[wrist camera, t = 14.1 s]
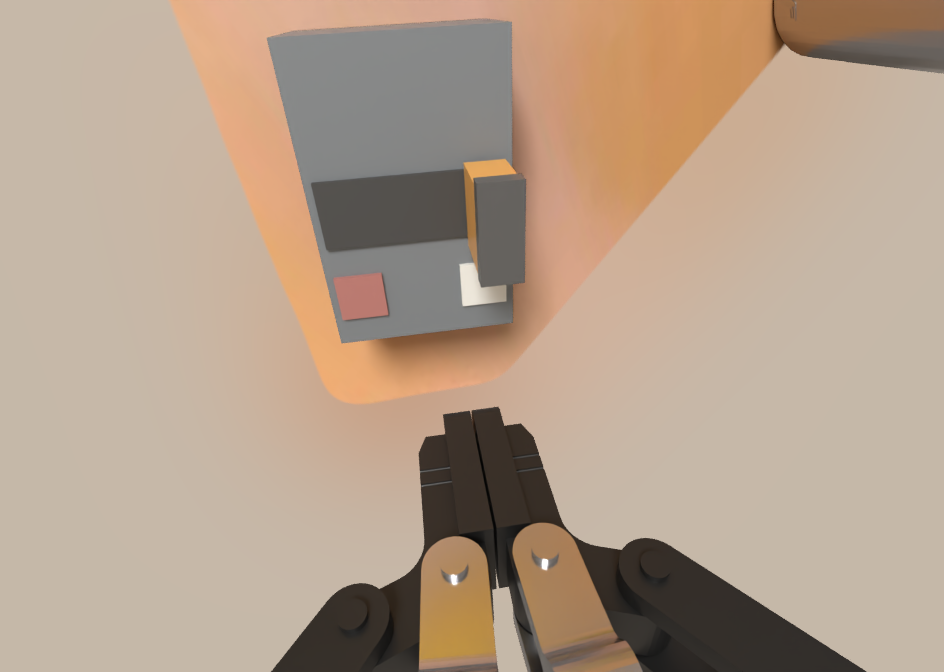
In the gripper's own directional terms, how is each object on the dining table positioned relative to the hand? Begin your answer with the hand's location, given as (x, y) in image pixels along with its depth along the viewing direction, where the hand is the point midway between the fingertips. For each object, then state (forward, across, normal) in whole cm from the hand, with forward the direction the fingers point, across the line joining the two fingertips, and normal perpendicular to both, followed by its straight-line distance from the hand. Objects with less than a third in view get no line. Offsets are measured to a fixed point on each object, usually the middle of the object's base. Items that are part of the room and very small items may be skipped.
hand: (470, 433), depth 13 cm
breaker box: (+27, +1, 0) cm, 27 cm away
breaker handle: (+19, -4, 0) cm, 19 cm away
